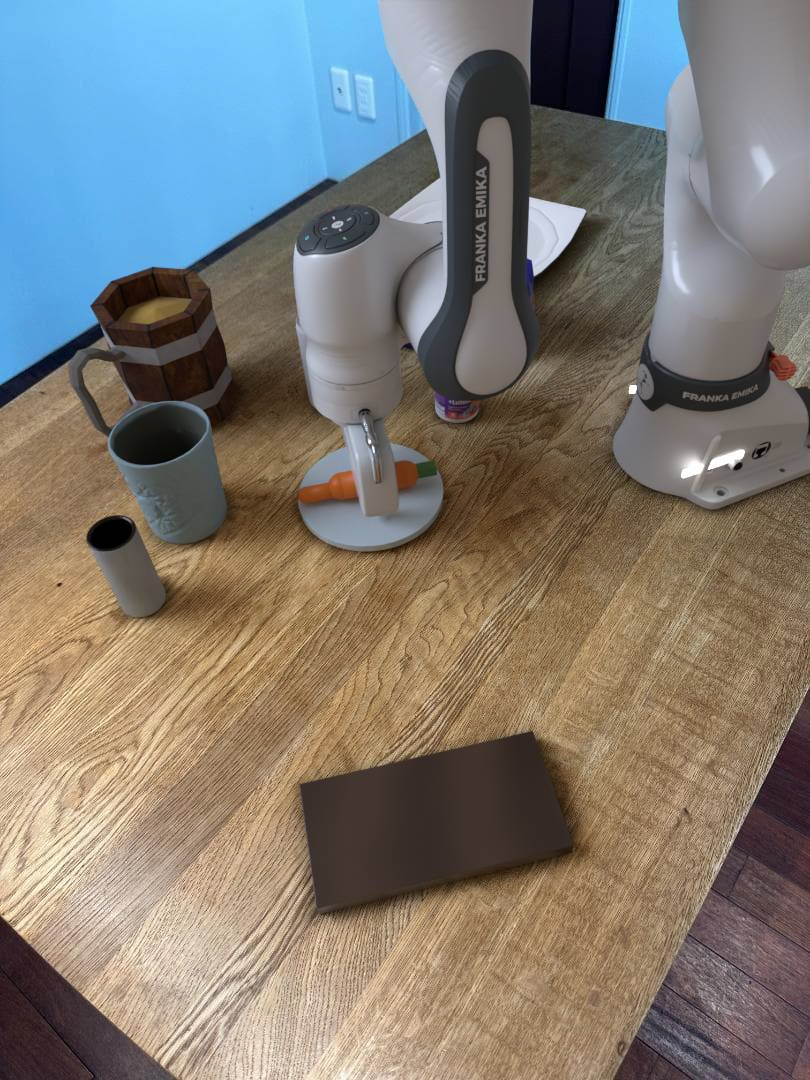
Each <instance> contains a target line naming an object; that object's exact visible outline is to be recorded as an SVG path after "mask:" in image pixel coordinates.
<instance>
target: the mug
mask: <svg viewBox="0 0 810 1080" xmlns="http://www.w3.org/2000/svg"><path fill="white" fill-rule="evenodd" d="M212 299H213V298H212V291H211V288H210V287H209V286H208V285H207V284H206V282H205V281H204V280H203V279H202V277H200V276H199V274H198V273H196V271H195V270H194V269H187V268H174V267H159V266H150V267H148V268H145V269H142V270H139V271H136V272H134V273H133V272H132V273H130V274H128V275H126V276H123V277H119V278H116V279H113V280H111V281H110V282H109V283H108V284H107V285H106V286H105V287H104V289H103V290H102V291H101V292H100V293H99V295H98V296H97V297H96V298H95V300H94V301H93V302H92V303H91V304H90V306H89V307H90V309H91V311H92V312H93V314H94V317H95V318H96V320H97V321H98V323H99V325H100V328H101V330H102V333H103V336H104V338H105V341H106V344H107V350H104V349H101V348H97V347H93V346H91V347H86V348H81V349H77V351H76V352H75V354H74V355H73V357H72V358H71V360H70V361H69V362H68V364H67V367H68V368H67V369H68V377H69V378H68V379H69V384H70V386H71V387H72V389H73V391H74V393H75V394H76V396H77V397H78V399H79V400H80V402H81V404H82V406H83V409H84V411H85V413H86V415H87V417H88V419H89V420H90V422H91V424H92V426H93V427H94V428H95V429H96V430H97V431H99V432H100V433H102V434H103V435H105V436H106V437H108V438H109V435H110V433H111V431H112V430H113V428H114V427H115V426H116V424H117V423H118V422H120V421H121V420H122V419H123V418H124V417H126V416H127V415H128V414H130V413H131V412H133V411H135V410H137V409H139V408H141V407H143V406H146V405H150V404H153V403H158V402H164V401H180V402H186V403H190V404H193V405H195V406H197V407H199V408H200V409H202V410H203V411H204V412H205V413H206V415H207V416H208V418H209V420H210V424H211V426H213V425H215V424H218V423H220V422H222V421H224V420H225V419H226V417H227V415H228V413H229V412H230V410H231V408H232V406H233V404H234V402H235V400H236V399H237V397H238V395H239V392H238V390H237V387H236V385H235V383H234V380H233V378H232V374H231V370H230V367H229V362H228V356H227V350H226V344H225V341H224V339H223V336H222V334H221V333H222V332H221V331H220V328H219V326H218V323H217V318H216V315H215V312H214V306H213V300H212ZM92 360H93V361H94V360H100V361H103V362H108V363H113V365H114V367H115V369H116V372H117V373H118V375H119V377H120V378H121V380H122V383H123V386H124V388H125V391H126V393H127V397H128V401H129V406H130V407H129V408H127V410H126V411H125V412H124V413H123V414H122V415H121V416H120V418H119V419H118V420H117V421H116V422H115V424H114V425H110V426H108V425H107V423H106V421H105V419H104V417H103V415H102V413H101V411H100V409H99V406H98V404H97V401H96V400H95V398H94V397H93V395H92V394H91V392H90V391H89V389H88V388H87V386H86V384H85V378H84V375H83V370H84V369H85V367H86V366H87V364H88V363H89V362H90V361H92Z"/></svg>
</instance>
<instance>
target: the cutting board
mask: <svg viewBox="0 0 810 1080" xmlns="http://www.w3.org/2000/svg"><path fill="white" fill-rule="evenodd" d="M298 786H299V793H300V801H301V809H302V815H303V823H304V829H305V836H306V843H307V852H308V859H309V865H310V866H309V867H310V873H311V879H312V886H313V887H312V888H313V894H314V901H315V908H316V911H317V913H318V915H323V914H327V913H332V912H336V911H340V910H343V909H348V908H352V907H357V906H360V905H363V904H364V905H365V904H368V903H372V902H377V901H382V900H384V899H389V898H392V897H396V896H397V897H398V896H400V895H405V894H408V893H409V894H410V893H413V892H418V891H421V890H425V889H429V888H433V887H438V886H442V885H446V884H450V883H453V882H458V881H462V880H467V879H470V878H474V877H479V876H483V875H487V874H491V873H494V872H498V871H502V870H507V869H511V868H515V867H519V866H524V865H528V864H531V863H535V862H540V861H544V860H547V859H552V858H556V857H560V856H564V855H568V854H572V853H573V851H574V846H575V844H574V842H573V840H572V835H571V833H570V831H569V828H568V825H567V822H566V820H565V816H564V814H563V811H562V808H561V806H560V803H559V800H558V798H557V794H556V791H555V788H554V786H553V783H552V780H551V777H550V774H549V772H548V769H547V767H546V764H545V761H544V758H543V756H542V753H541V750H540V747H539V744H538V741H537V739H536V735H535V733H534V731H533V730H530V731H527V732H526V731H525V732H522V733H518V734H512V735H508V736H504V737H500V738H496V739H492V740H487V741H482V742H478V743H473V744H469V745H465V746H460V747H456V748H451V749H447V750H443V751H438V752H434V753H429V754H424V755H420V756H417V757H416V756H415V757H412V758H409V759H408V758H407V759H403V760H399V761H393V762H389V763H387V764H381V765H377V766H373V767H372V766H371V767H367V768H363V769H360V770H355V771H351V772H347V773H342V774H337V775H333V776H328V777H326V778H320V779H316V780H315V779H314V780H311V781H307V782H303V783H299V785H298Z"/></svg>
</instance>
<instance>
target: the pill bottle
mask: <svg viewBox="0 0 810 1080" xmlns="http://www.w3.org/2000/svg"><path fill="white" fill-rule="evenodd" d="M480 401H481V400H480ZM480 401H461V400H454V399H449V398H446V397H444V396H442V395H440V394H438V393H437V392H435V391H434V409H435V413H436V414H437V416H438V417H439V418H440V419H442V420H444V421H446V422H447V423H448V422H449V423H452V424H453V423H454V424H460V423H467V422H468V421H471V420H473V419H474V418H475V417H476V416H477V415H478V413H479V412H480Z"/></svg>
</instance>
